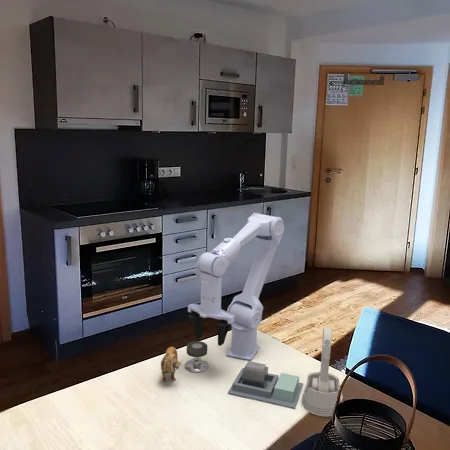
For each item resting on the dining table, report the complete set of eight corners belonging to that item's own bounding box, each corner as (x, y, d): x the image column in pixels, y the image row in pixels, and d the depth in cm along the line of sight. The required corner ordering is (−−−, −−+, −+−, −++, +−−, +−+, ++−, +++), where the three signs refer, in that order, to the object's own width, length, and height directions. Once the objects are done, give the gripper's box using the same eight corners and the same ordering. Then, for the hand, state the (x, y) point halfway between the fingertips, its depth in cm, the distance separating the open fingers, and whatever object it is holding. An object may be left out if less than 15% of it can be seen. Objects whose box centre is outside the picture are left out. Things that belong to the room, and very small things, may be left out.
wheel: (191, 345, 140) (191, 339, 140) (210, 349, 138) (210, 343, 138) (183, 355, 134) (183, 348, 134) (202, 359, 133) (202, 352, 132)
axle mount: (190, 358, 142) (190, 351, 141) (212, 362, 139) (212, 356, 139) (180, 369, 135) (180, 362, 135) (203, 374, 133) (203, 367, 132)
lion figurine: (181, 388, 126) (181, 357, 124) (161, 389, 125) (161, 358, 123) (178, 360, 140) (178, 333, 138) (160, 361, 139) (159, 333, 137)
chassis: (241, 371, 135) (241, 361, 134) (303, 384, 129) (304, 373, 129) (227, 393, 124) (227, 382, 123) (294, 409, 118) (295, 397, 117)
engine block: (246, 379, 130) (247, 359, 129) (267, 383, 129) (268, 363, 127) (242, 387, 127) (242, 366, 125) (263, 391, 125) (264, 371, 123)
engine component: (301, 413, 117) (342, 419, 115) (306, 337, 112) (349, 342, 110) (302, 389, 127) (340, 394, 125) (308, 319, 123) (347, 323, 121)
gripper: (181, 293, 130) (180, 338, 133) (225, 306, 123) (223, 353, 126) (196, 286, 136) (195, 330, 139) (239, 298, 129) (237, 343, 132)
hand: (209, 340), depth 133 cm, fingers open, 7 cm apart
